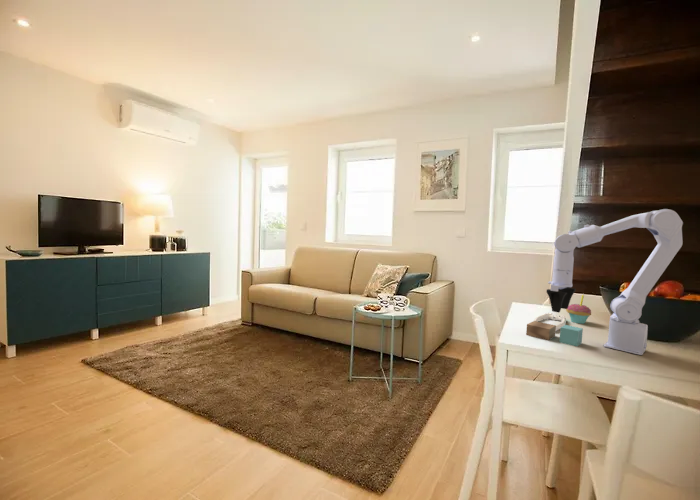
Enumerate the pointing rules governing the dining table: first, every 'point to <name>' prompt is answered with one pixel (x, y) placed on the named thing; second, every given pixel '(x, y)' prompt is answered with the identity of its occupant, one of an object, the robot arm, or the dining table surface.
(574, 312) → the cupcake
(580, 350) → the dining table surface
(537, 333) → the walnut block
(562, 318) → the white curved loop
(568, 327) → the teal cube
